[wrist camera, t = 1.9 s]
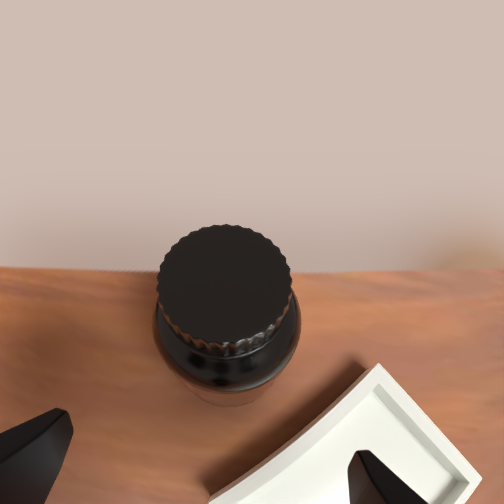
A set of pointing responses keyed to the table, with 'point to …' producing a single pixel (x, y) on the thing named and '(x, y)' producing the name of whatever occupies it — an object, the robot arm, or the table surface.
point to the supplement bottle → (226, 314)
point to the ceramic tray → (358, 438)
